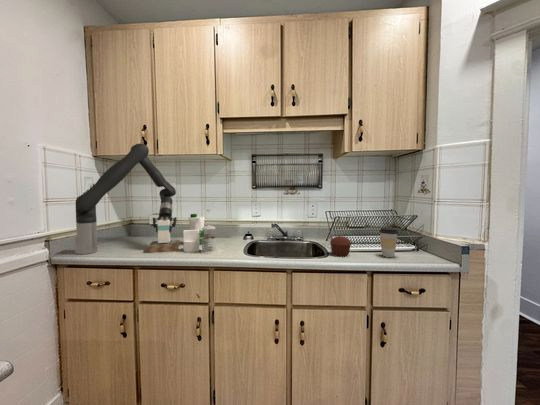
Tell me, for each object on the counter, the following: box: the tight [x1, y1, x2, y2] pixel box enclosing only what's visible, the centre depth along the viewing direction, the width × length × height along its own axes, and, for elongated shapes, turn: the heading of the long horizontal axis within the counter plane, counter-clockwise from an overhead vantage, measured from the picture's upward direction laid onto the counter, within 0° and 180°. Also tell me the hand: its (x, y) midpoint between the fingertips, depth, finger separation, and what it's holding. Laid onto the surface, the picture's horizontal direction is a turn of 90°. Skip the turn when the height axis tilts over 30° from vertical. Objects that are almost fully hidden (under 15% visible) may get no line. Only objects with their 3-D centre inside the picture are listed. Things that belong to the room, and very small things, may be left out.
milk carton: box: [188, 213, 205, 246], centre depth 160 cm, size 9×9×20 cm
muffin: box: [329, 235, 353, 257], centre depth 134 cm, size 12×11×10 cm
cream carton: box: [157, 219, 171, 243], centre depth 146 cm, size 6×6×14 cm
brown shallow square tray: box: [146, 239, 180, 254], centre depth 146 cm, size 16×16×4 cm
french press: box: [198, 208, 218, 255], centre depth 140 cm, size 10×12×25 cm
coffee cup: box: [378, 227, 399, 258], centre depth 131 cm, size 9×9×15 cm
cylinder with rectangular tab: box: [182, 229, 200, 253], centre depth 143 cm, size 9×9×12 cm
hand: (163, 231), depth 144 cm, fingers closed on cream carton, 6 cm apart
